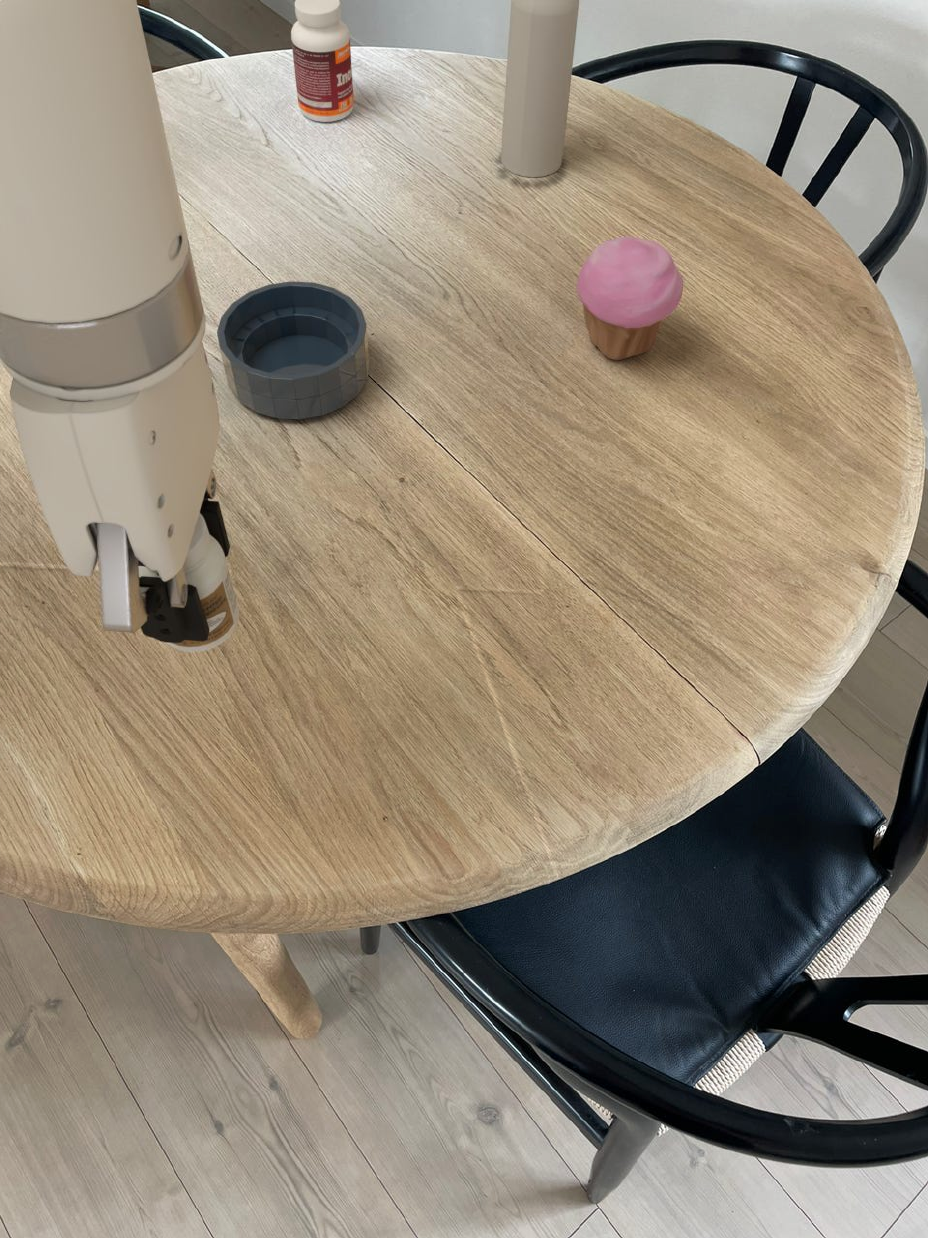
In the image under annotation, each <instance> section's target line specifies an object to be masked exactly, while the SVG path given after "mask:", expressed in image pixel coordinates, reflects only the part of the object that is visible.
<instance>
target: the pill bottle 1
mask: <svg viewBox="0 0 928 1238" xmlns="http://www.w3.org/2000/svg"><path fill="white" fill-rule="evenodd" d="M184 570H185V575H186V581H187V584H189V585H193V586H194V587H196V588H197V591H198V594H199V598H200V601H201V604H202V607H203V610H204V613H205V616H206V620H207V623H208V626H209V629H210V631H209V635H208V639H207V640H206V641H189V640H184V641H183V642H180V643H167V642H164V643H165V644H167V646H169V647H171V648H172V649H174V650H177V651H181V652H185V653H200V652H204V651H205V652H206V651H209V650H212V649H214V648H216V647H219V646H220V645H221V644H223V643H224V642H226V641H227V640H228V639H229V638H230V637H231V635H233V634H234V631H235V630H236V628H237V626H238V623H239V618H240V609H239V604H238V600H237V596H236V593H235V589H234V585H233V580H232V577H231V574H230V570H229V566H228V562H227V557H225V555H224V552H223V549H222V547H221V546H220V544H219V543H218V542H217V540H216V539H215V538H214V537H212V536H211V535H210V534H209V532H208V529H207V526H206V523H205V520H204V518H203V516H202V515H201V514H200V512H199V516H198V519H197V523H196V527H195V530H194V533H193V537H192V540H191V544H190V547H189V550H188V553H187V557H186V559H185V562H184ZM157 573H158V571H151V570H149V569H148V568H147V567H146V566H139V577H141V576H147V577H160V576H157ZM160 578H161V577H160Z"/></svg>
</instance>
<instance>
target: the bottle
mask: <svg viewBox="0 0 928 1238" xmlns="http://www.w3.org/2000/svg"><path fill="white" fill-rule="evenodd" d="M510 1H511V2H510V15H509V16H510V17H509V29H508V45H507V58H506V73H505V74H506V75H505V87H504V100H503V102H504V103H503V115H502V131H501V148H500V149H501V151H500V162H501V165H502V166H503V167H504V168H505V169H506V170H507V171H509V172H511V173H512V174H515V175H518V176H520V177H524V178H526V177H529V178H543V177H547V176H551V175H552V174H554V173H556V172H557V171H559V169H560V168H561V166H562V163H563V156H564V155H563V154H564V147H565V138H566V131H567V121H568V113H569V103H570V94H571V83H572V74H573V65H574V55H575V47H576V46H575V45H576V37H577V27H578V17H579V9H580V0H510Z"/></svg>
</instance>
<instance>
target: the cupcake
mask: <svg viewBox="0 0 928 1238" xmlns="http://www.w3.org/2000/svg"><path fill="white" fill-rule="evenodd" d="M576 281H577V282H576V293H577V296H578V299H579V301H580V302H581V304H582V309H583V312H582V313H583V317H584V318H583V319H584V322H585V326H586V329H587V331H588V337H589V341H590V343H591V344H593V345H595V346H596V347H597V348H598V349H599V351H600V352H601V354H603V355H604V356H605V357H606V358H607V359H609V360H613V361H614V360H615V361H619V360H623V359H627V358H631V357H633V356H639V355H642V354H643V353H646V352H648V351H651V349H652V348H653V347H654V345H655V342H656V338H657V335H658V332H659V330H660V327H661V325H662V322H663V320H664V319H665V318H667V317H668V316H669V315H671V314H672V313H673V312H674V311H675V310H676V309H677V308H678V306H679V304H680V302H681V299H682V297H683V291H684V290H683V289H684V279H683V276H682V274H681V272H680V270H679V269H678V268H677V266H676V264H675V262H674V259H673V257H672V255H671V253H670V252H669V251H668V250H667V249H666V248H665V247H664V246H663V245H661V244H660V243H659V242H656V241H654V240H650V239H646V238H641V237H633V236H620V237H616V238H613V239H608V240H605V241H603V242H601V243H600V244H598V245H597V246H596V247H595V248H594V249H593V250H592V251H591V252H590V254H589V256H588V257H587V258H586V260H585V261H584V263H583V264H582V266H581V268H580V270H579V273H578V276H577V280H576Z"/></svg>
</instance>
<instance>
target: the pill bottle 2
mask: <svg viewBox="0 0 928 1238" xmlns="http://www.w3.org/2000/svg"><path fill="white" fill-rule="evenodd" d="M341 8H342V7H341V1H340V0H295V1H294V13H295V14H294V15H295V18H296V20H297V21H295V22H294V24H293V25H292V27H291V30H290V41H291V48H292V49H291V50H292V58H293V67H294V68H293V69H294V79H295V87H296V97H297V104H298V108H299V111H300V112H301V114H302V115H303V116H304V117H306V118H307V119H310V120H312V121H314V122H321V123H329V122H331V123H332V122H336V121H340V120H343V119H345V118H347V117H348V116H350V115H351V113H352V112H353V110H354V106H355V105H354V104H355V102H354V101H355V100H354V99H355V98H354V84H353V83H354V82H353V69H352V68H353V67H352V52H351V37H350V31H349V28H348V26H347V24H346V23H345V22H344V21H343V20H341V19H342V9H341Z"/></svg>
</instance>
